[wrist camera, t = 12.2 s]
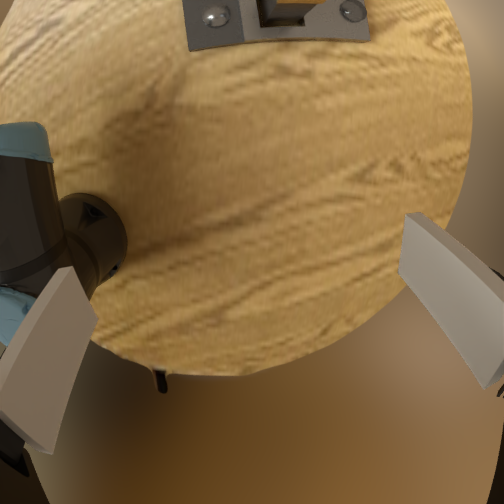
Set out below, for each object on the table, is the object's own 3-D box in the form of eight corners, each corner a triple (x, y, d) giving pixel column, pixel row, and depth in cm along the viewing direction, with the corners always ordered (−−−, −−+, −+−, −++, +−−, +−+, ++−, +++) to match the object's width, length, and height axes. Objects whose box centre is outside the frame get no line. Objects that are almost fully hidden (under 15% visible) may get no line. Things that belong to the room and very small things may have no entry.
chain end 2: (243, 43, 32) (245, 39, 29) (235, -12, 27) (236, -20, 25) (363, 42, 32) (372, 40, 30) (354, -10, 28) (362, -15, 25)
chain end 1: (189, 51, 32) (188, 49, 30) (182, -4, 27) (180, -9, 26) (310, 40, 32) (314, 38, 30) (301, -14, 28) (304, -18, 26)
